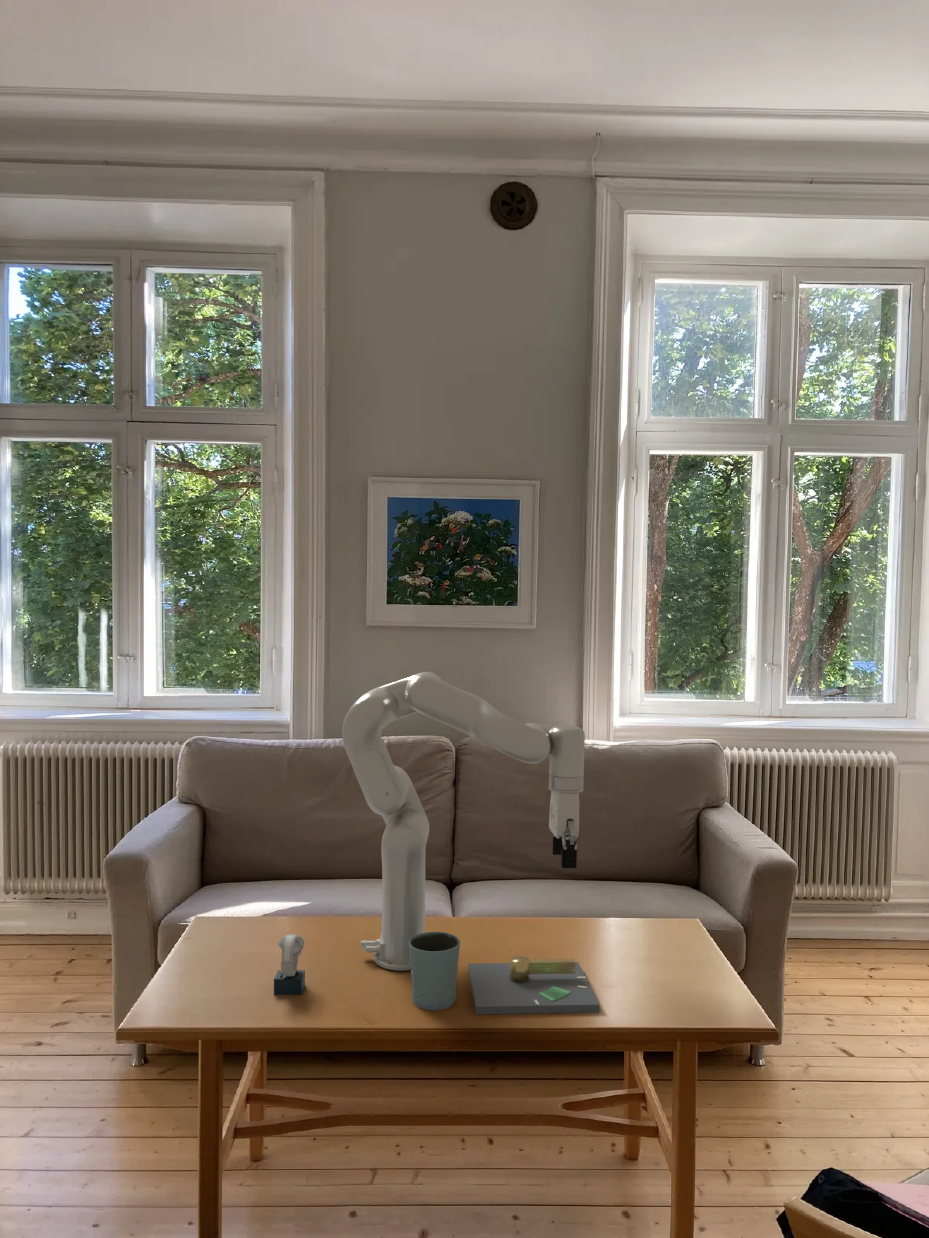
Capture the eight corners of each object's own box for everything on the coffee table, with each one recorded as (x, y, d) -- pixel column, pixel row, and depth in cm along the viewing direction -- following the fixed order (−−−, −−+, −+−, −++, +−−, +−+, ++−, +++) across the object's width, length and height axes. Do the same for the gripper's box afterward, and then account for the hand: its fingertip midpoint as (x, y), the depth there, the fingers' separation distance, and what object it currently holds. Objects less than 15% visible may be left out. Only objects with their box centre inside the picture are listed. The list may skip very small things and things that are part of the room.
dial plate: (476, 1014, 169) (476, 1005, 169) (468, 970, 189) (468, 962, 189) (599, 1012, 171) (599, 1003, 171) (578, 968, 191) (578, 961, 191)
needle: (511, 982, 179) (511, 963, 179) (508, 973, 183) (508, 955, 183) (576, 981, 180) (576, 962, 180) (572, 973, 184) (572, 955, 184)
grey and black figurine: (306, 980, 182) (307, 928, 182) (299, 998, 174) (300, 943, 174) (279, 980, 182) (279, 928, 182) (271, 998, 174) (272, 943, 174)
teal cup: (467, 995, 177) (468, 936, 177) (445, 1016, 168) (446, 954, 167) (422, 985, 181) (423, 928, 181) (398, 1006, 172) (399, 945, 171)
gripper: (542, 774, 200) (540, 849, 200) (556, 791, 182) (554, 873, 183) (574, 775, 200) (572, 849, 201) (592, 791, 183) (590, 873, 183)
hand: (564, 860), depth 192 cm, fingers open, 9 cm apart
